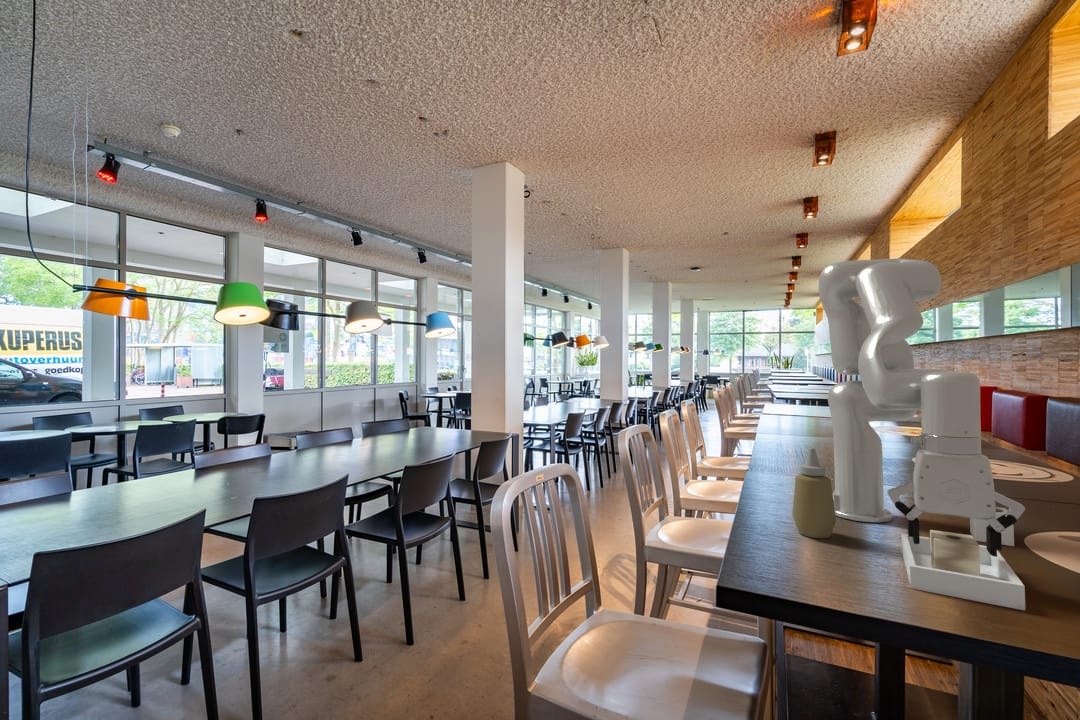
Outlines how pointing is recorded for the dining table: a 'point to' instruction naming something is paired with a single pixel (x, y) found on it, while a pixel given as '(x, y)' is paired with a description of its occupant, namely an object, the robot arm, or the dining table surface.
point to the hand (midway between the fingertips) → (952, 547)
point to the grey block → (980, 525)
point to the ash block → (955, 552)
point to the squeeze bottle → (813, 499)
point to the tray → (963, 577)
